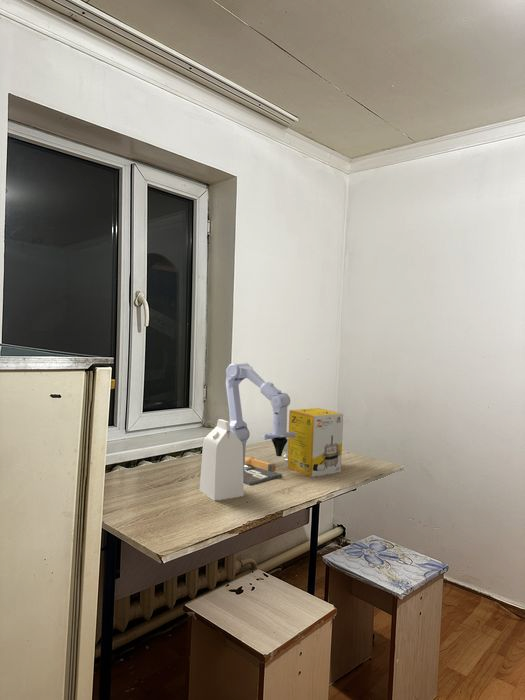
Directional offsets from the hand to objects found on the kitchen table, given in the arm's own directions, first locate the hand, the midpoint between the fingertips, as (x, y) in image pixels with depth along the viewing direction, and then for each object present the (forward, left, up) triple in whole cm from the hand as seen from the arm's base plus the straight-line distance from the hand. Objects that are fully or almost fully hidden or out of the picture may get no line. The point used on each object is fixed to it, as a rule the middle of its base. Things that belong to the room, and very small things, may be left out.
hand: (278, 455), depth 195 cm
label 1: (-5, -10, -7) cm, 13 cm away
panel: (-6, -11, -7) cm, 14 cm away
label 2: (+1, -12, -7) cm, 14 cm away
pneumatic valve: (-10, +19, -8) cm, 23 cm away
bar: (-5, -6, -5) cm, 9 cm away
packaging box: (+6, +16, -8) cm, 19 cm away
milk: (+4, -34, -8) cm, 35 cm away
